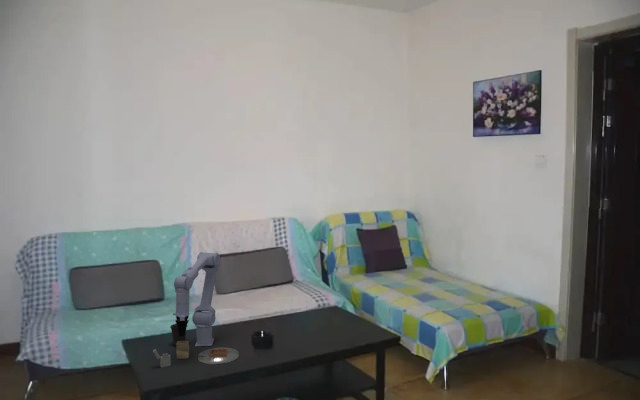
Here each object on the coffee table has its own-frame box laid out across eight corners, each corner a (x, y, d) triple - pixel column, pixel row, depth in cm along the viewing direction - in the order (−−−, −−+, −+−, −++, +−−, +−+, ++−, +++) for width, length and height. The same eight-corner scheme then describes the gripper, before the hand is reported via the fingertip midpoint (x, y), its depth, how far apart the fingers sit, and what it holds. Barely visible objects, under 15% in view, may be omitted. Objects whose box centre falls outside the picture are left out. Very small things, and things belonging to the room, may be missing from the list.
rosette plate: (201, 350, 239) (201, 345, 239) (240, 348, 240) (240, 343, 240) (194, 365, 221) (194, 359, 221) (236, 363, 222) (236, 358, 222)
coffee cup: (183, 347, 242) (182, 327, 241) (167, 346, 244) (166, 326, 243) (190, 342, 250) (190, 322, 249) (175, 341, 252) (175, 321, 251)
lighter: (170, 364, 222) (169, 346, 222) (170, 365, 221) (170, 347, 220) (153, 367, 219) (152, 349, 218) (153, 368, 217) (153, 350, 217)
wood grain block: (178, 356, 232) (177, 341, 231) (189, 355, 232) (188, 340, 231) (176, 358, 229) (176, 343, 228) (188, 358, 229) (187, 343, 228)
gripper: (173, 300, 234) (172, 330, 233) (172, 306, 220) (172, 338, 219) (189, 300, 235) (188, 330, 235) (189, 305, 221) (189, 337, 221)
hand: (181, 334), depth 227 cm, fingers open, 7 cm apart
